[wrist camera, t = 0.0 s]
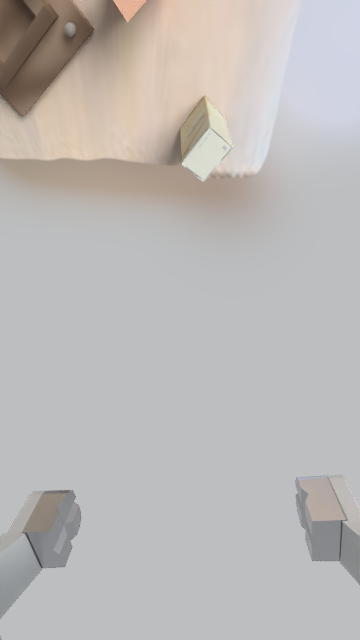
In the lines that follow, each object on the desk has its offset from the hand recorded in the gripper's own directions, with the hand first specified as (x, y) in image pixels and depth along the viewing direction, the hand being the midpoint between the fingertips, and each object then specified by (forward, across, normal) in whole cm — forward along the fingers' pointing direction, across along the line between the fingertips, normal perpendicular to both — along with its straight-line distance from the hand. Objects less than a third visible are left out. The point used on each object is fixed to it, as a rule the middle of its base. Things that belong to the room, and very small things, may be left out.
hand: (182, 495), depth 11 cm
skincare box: (+51, -3, -21) cm, 55 cm away
